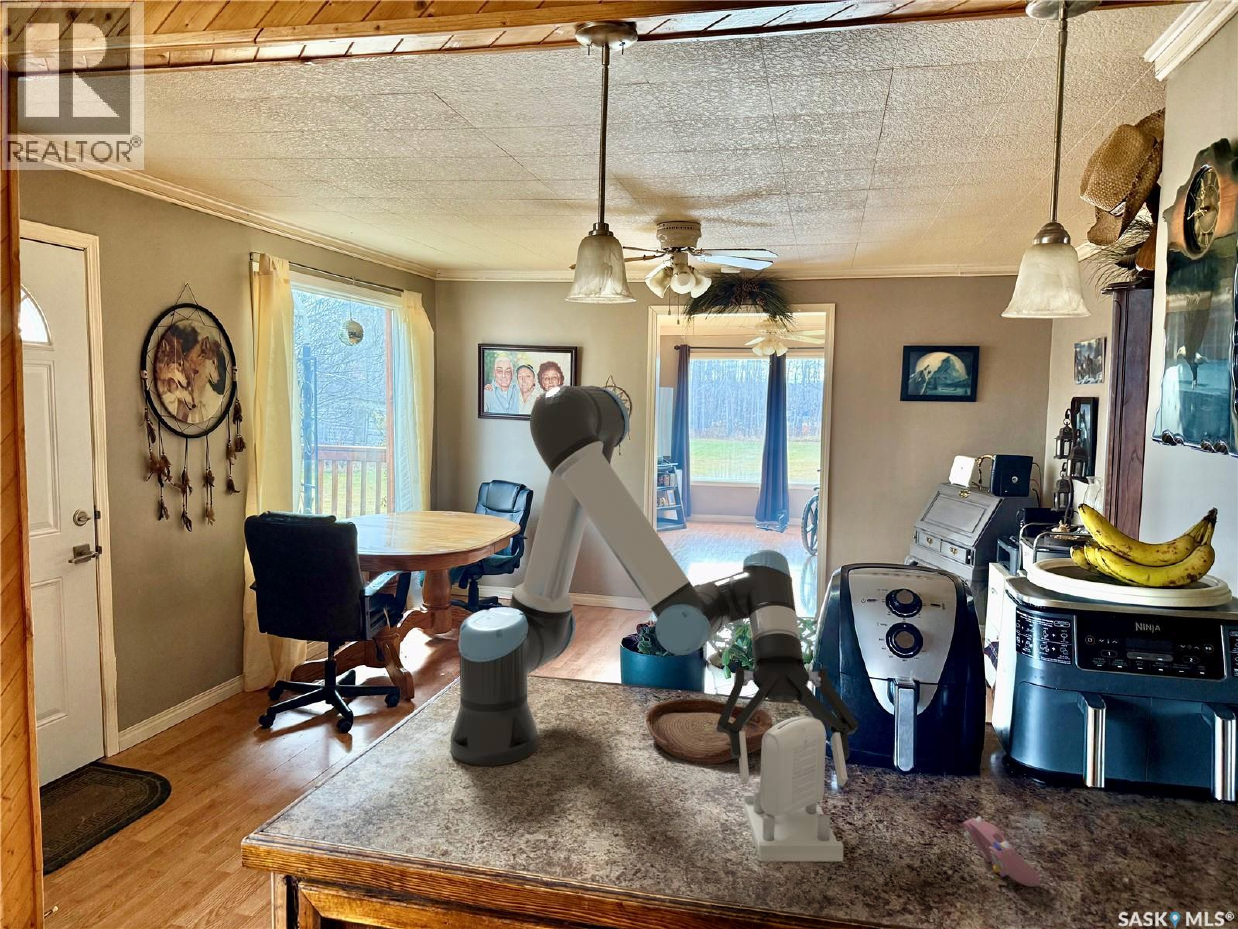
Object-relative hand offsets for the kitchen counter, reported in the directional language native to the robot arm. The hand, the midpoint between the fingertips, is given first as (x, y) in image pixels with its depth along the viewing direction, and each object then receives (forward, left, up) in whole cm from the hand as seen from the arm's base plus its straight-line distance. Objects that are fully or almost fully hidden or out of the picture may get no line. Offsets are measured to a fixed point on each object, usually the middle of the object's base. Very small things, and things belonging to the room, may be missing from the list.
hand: (794, 782), depth 109 cm
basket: (-32, -8, -9) cm, 34 cm away
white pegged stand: (-2, 0, -8) cm, 8 cm away
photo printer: (-2, 0, -4) cm, 5 cm away
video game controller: (+7, +26, -9) cm, 28 cm away
